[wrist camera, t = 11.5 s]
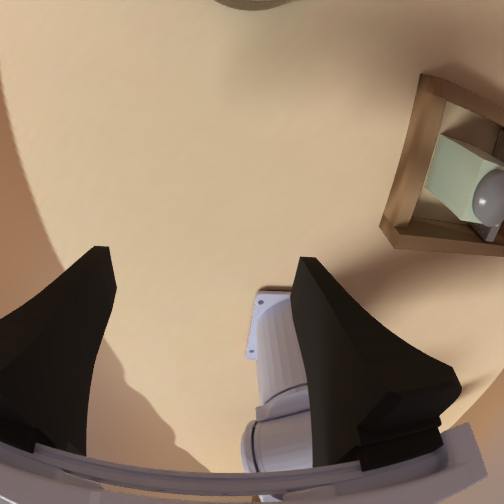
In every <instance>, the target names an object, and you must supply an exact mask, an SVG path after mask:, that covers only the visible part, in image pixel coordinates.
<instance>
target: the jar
mask: <svg viewBox="0 0 504 504" xmlns="http://www.w3.org/2000/svg"><path fill="white" fill-rule="evenodd" d="M425 187H426V188H427V189H428V190H429V191H430V192H431V193H432V194H433V195H435V196H436V197H437V198H438V199H439V200H440V201H441V202H442V203H443V204H444V205H445V206H446V207H447V208H449V209H450V210H451V211H452V212H453V213H454V214H455V215H456V216H457V217H458V218H459V219H460V220H462V221H468V222H474V223H480V224H484V225H485V226H488V227H492V226H498V225H499V223H501V222H502V221H503V220H504V163H503V162H501V161H500V160H498V159H497V158H495V157H493V156H492V155H490V154H489V153H487V152H485V151H484V150H482V149H480V148H479V147H476V146H474V145H471V144H468V143H466V142H463V141H460V140H457V139H454V138H451V137H448V136H445V135H442V134H440V136H439V140H438V144H437V147H436V151H435V154H434V158H433V161H432V165H431V168H430V171H429V175H428V178H427V181H426V184H425Z"/></svg>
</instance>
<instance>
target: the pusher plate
mask: <svg viewBox="0 0 504 504" xmlns="http://www.w3.org/2000/svg"><path fill="white" fill-rule="evenodd" d="M492 156H493V157H495V158H497V159H498V160H500V161H501V162H503V163H504V131H503V130H501V129H500V131H499V135H498V138H497V142H496V145H495V148H494V152H493V155H492ZM467 223H468V224H469V225H471V226H472V227H473V229H474V230H475V231H476V232H477V233H478V234H479V235H480V236H481V237H482V238H483V239H484V240H485V241H491V242H493V241H494V238H495V236H496V234H497V232H498V230H499V228H500V226H501V223H502V222H501V223H499V225H498V226H492V227H488V226H485V225H484V224H480V223H474V222H467Z"/></svg>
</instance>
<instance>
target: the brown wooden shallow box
mask: <svg viewBox="0 0 504 504" xmlns="http://www.w3.org/2000/svg"><path fill="white" fill-rule="evenodd" d="M446 100H447V101H449V102H451V103H454V104H456V105H458V106H461V107H463V108H465V109H467V110H470V111H472V112H474V113H476V114H478V115H480V116H482V117H484V118H486V119H488V120H490V121H492V122H494V123H496V124H498V125H500V126H502V127H504V110H503V109H502V108H500V107H498V106H496V105H495V104H493V103H491V102H489V101H487V100H486V99H484V98H482V97H480V96H478V95H476V94H474V93H472V92H470V91H468V90H466V89H464V88H462V87H460V86H458V85H455V84H453V83H451V82H449V81H447V80H444V79H440V78H436V77H432V76H428V75H423V74H420V78H419V83H418V88H417V93H416V98H415V102H414V107H413V111H412V115H411V119H410V124H409V128H408V132H407V136H406V139H405V143H404V147H403V151H402V154H401V158H400V162H399V165H398V168H397V172H396V175H395V179H394V182H393V185H392V188H391V192H390V195H389V198H388V201H387V204H386V207H385V210H384V213H383V216H382V219H381V222H380V225H379V227H380V229H381V230H382V232H383V233H384V234H385V236H386V237H387V239H388V240H389V242H390V243H391V244H392V246H393V247H394V249H408V250H422V251H435V252H448V253H461V254H474V255H486V256H498V257H504V220H503V221H502V223H501V226H500V228H499V230H498V232H497V234H496V236H495V238H494V241H493V242H491V241H485V240H484V239H483V238H482V237H481V236H480V235H479V234H478V233H477V232H476V231H475V230H474V229H473V227H472V226H468V225H462V224H455V223H449V222H442V221H435V220H428V219H421V218H414V217H412V214H413V211H414V208H415V206H416V203H417V200H418V197H419V194H420V191H421V188H422V185H423V182H424V179H425V176H426V173H427V170H428V167H429V163H430V160H431V157H432V153H433V150H434V146H435V143H436V139H437V136H438V132H439V128H440V124H441V120H442V116H443V112H444V108H445V104H446Z"/></svg>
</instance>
